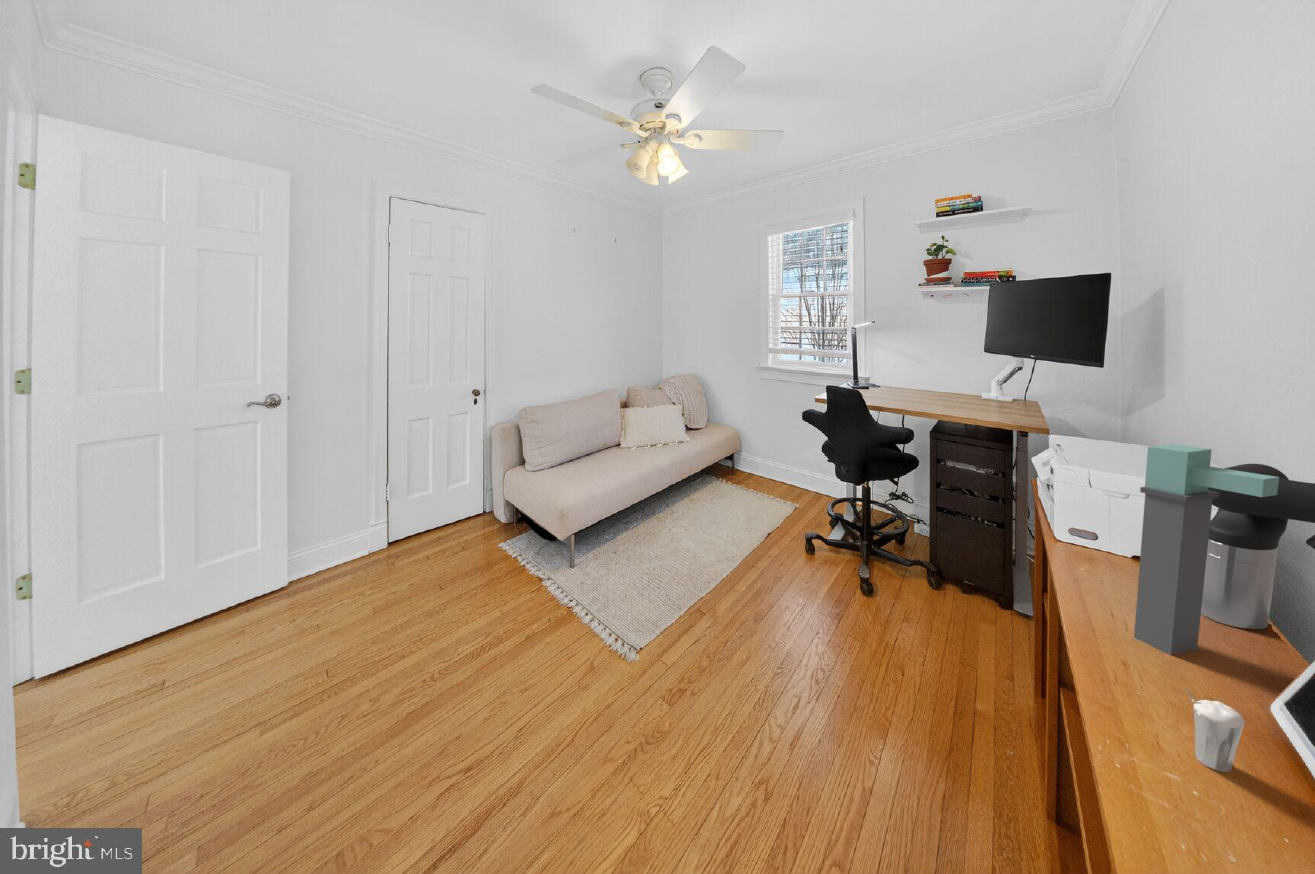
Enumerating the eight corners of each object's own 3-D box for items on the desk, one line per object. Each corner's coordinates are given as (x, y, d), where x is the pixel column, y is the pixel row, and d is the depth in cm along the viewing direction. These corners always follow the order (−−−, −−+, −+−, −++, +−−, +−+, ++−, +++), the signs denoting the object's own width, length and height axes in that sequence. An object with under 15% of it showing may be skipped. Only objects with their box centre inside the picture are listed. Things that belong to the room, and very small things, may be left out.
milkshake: (1185, 740, 68) (1191, 682, 67) (1242, 766, 64) (1250, 704, 62) (1175, 754, 66) (1181, 695, 65) (1233, 782, 62) (1241, 718, 60)
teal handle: (1144, 486, 87) (1148, 446, 86) (1166, 483, 88) (1170, 443, 87) (1255, 509, 73) (1260, 462, 71) (1280, 505, 73) (1286, 458, 72)
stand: (1129, 636, 92) (1140, 487, 87) (1158, 630, 93) (1171, 482, 88) (1171, 657, 85) (1186, 497, 80) (1202, 651, 86) (1219, 492, 81)
